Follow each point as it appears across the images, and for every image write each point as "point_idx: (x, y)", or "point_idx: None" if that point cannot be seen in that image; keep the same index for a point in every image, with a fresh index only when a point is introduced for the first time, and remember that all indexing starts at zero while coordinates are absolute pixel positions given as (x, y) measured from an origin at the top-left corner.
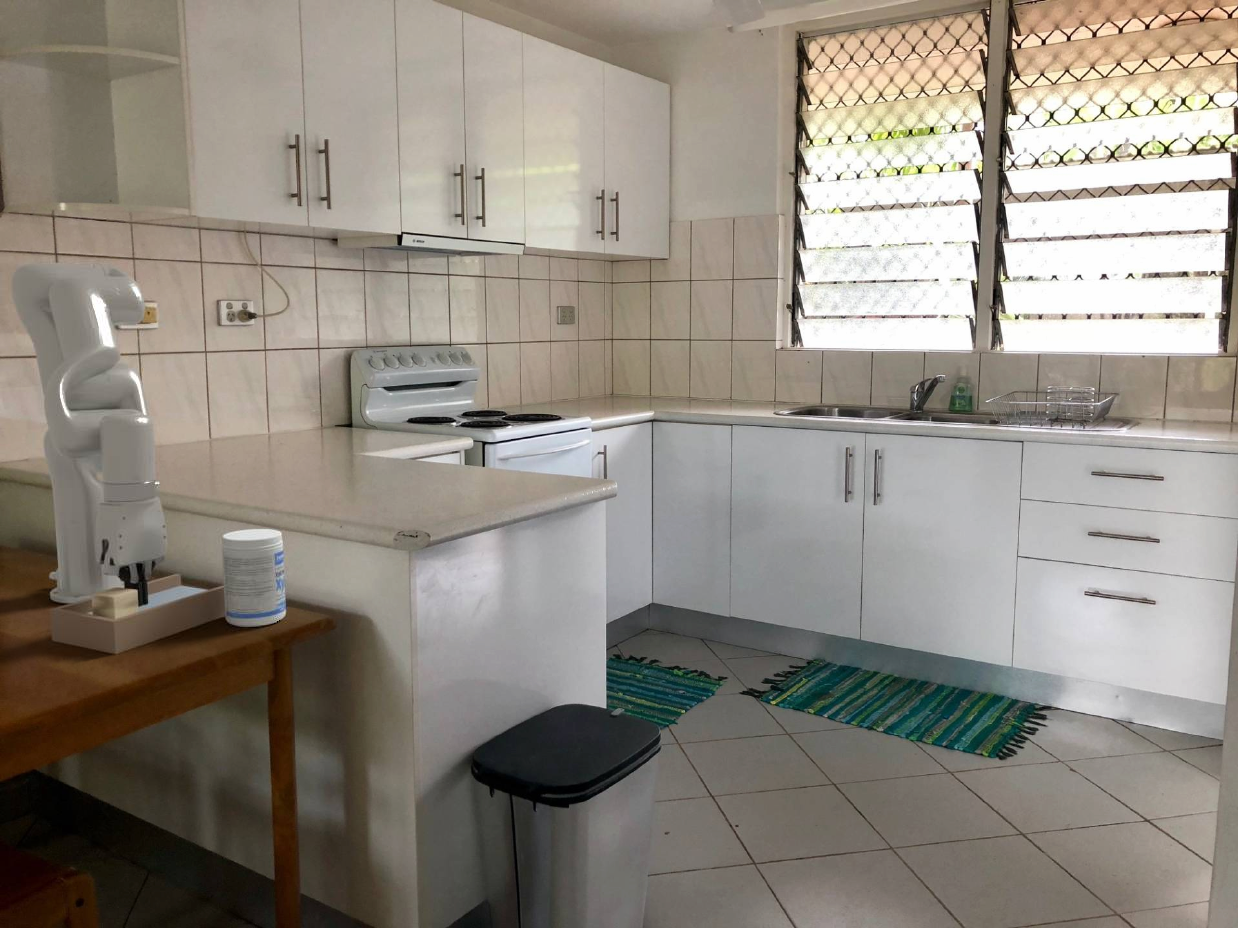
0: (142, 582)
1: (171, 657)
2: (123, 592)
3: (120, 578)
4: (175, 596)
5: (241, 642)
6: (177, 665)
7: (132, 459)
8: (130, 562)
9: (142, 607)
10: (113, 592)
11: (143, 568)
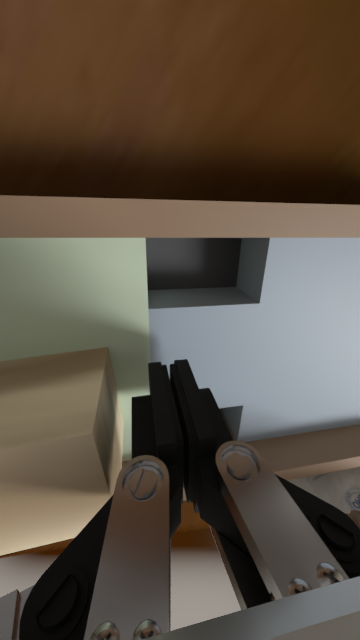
0: (188, 501)
1: None
2: (53, 526)
3: (99, 515)
4: (337, 328)
5: (190, 519)
6: (55, 542)
7: None
8: None
9: (206, 346)
10: (18, 505)
11: (234, 585)
